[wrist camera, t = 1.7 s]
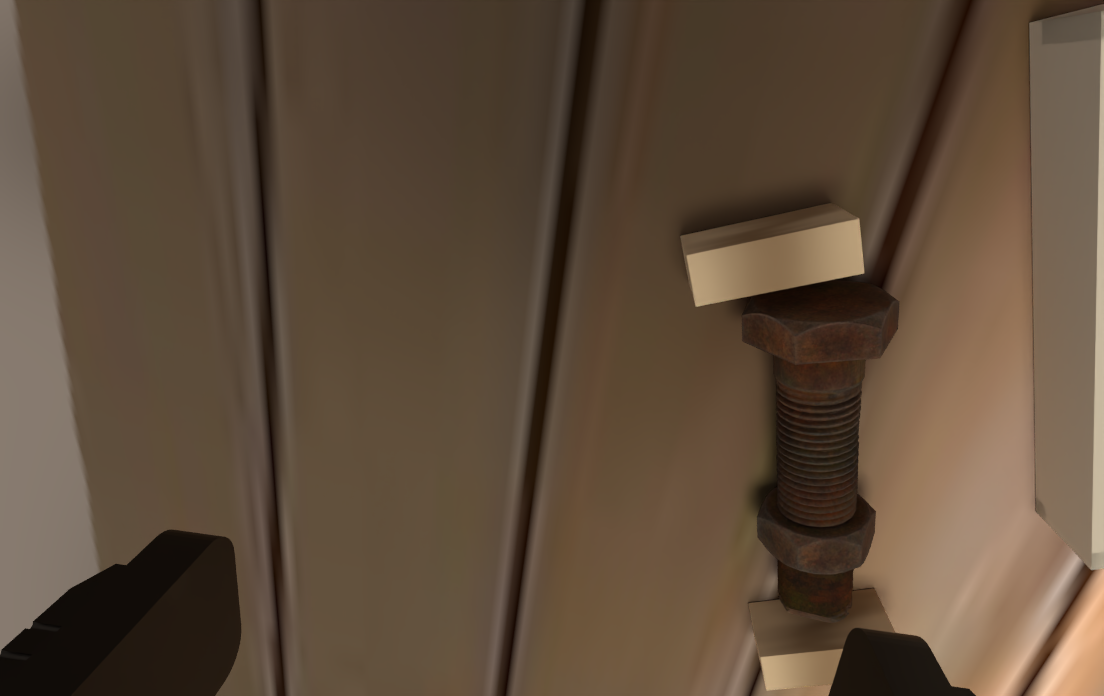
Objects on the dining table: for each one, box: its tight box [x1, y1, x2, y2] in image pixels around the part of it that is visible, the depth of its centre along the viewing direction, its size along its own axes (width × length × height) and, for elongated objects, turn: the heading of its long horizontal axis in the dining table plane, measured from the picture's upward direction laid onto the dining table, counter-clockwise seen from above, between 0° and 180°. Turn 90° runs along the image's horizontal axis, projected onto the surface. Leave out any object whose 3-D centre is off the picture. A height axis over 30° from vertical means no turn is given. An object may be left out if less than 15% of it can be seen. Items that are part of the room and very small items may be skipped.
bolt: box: [742, 280, 899, 623], centre depth 29 cm, size 6×5×15 cm
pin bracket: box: [680, 203, 895, 690], centre depth 29 cm, size 6×21×4 cm, turn 14°
